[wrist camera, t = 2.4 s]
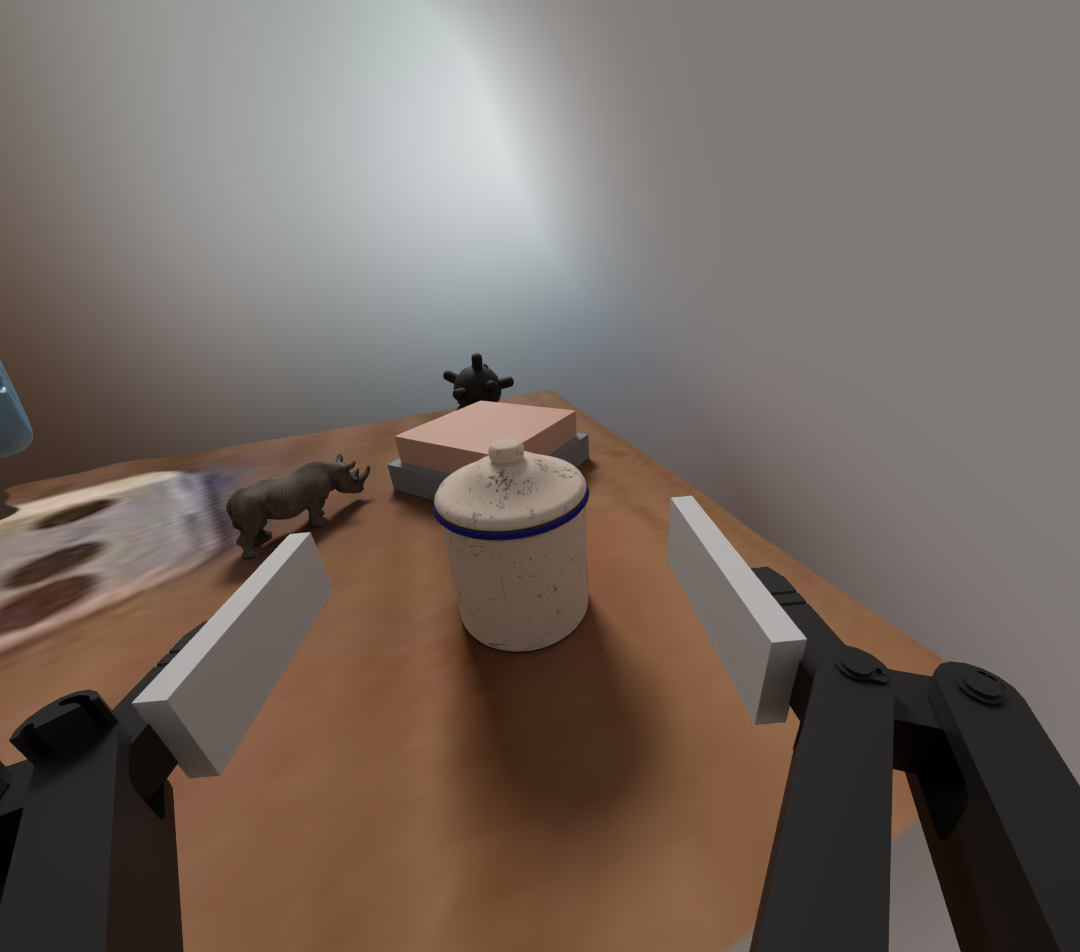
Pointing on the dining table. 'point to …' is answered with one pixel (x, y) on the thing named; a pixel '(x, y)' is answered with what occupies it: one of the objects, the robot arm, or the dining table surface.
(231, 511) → the rhino figurine
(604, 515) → the dining table surface
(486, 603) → the teacup with lid
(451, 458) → the brick plinth
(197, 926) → the dining table surface
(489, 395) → the toy ball
